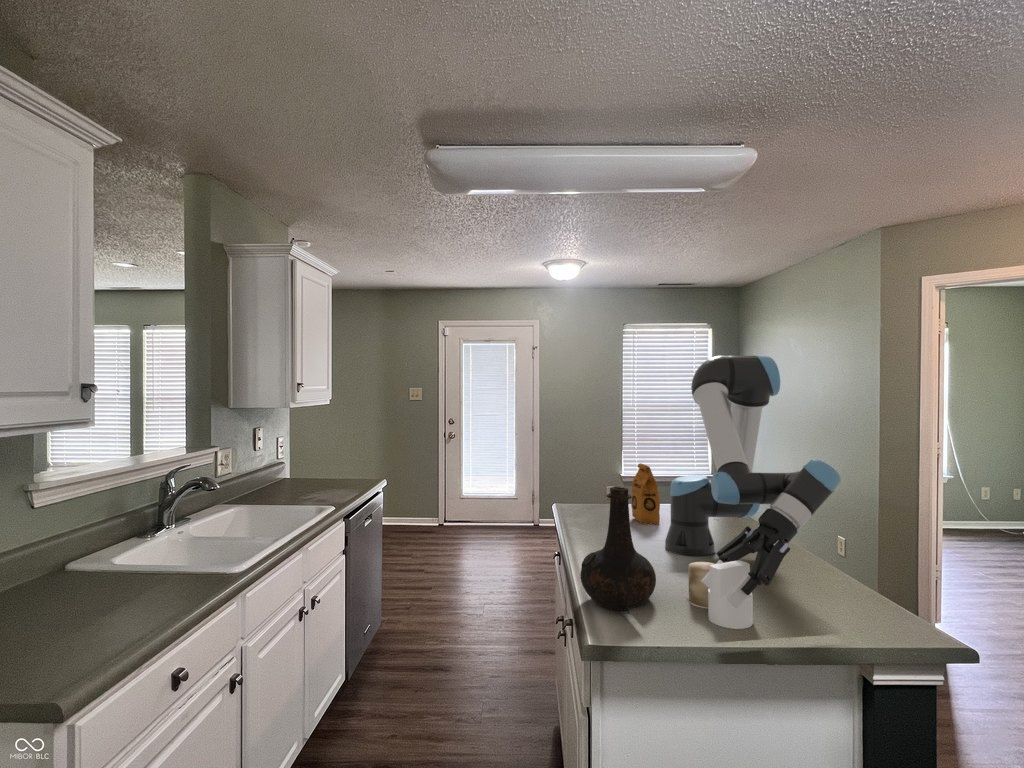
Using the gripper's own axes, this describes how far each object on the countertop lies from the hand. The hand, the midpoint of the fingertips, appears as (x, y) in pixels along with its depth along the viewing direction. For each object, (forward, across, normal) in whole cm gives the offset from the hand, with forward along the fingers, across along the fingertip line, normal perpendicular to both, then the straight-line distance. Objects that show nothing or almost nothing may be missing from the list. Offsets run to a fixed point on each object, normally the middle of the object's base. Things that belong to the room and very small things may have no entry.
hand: (717, 593), depth 118 cm
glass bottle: (+17, +16, +7) cm, 25 cm away
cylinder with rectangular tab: (+2, 0, -6) cm, 7 cm away
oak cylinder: (+2, +11, -6) cm, 13 cm away
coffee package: (-10, +94, -18) cm, 96 cm away
